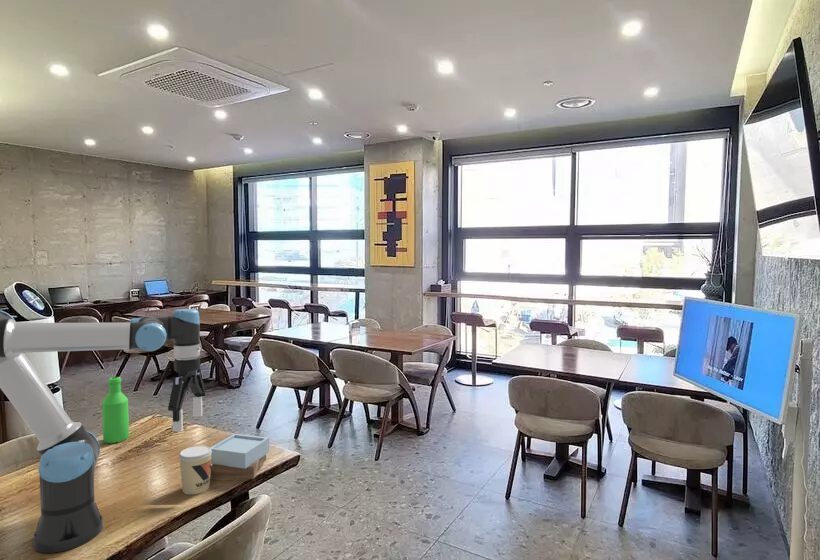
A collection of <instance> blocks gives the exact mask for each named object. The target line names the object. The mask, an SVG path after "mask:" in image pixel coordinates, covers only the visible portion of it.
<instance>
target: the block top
mask: <svg viewBox="0 0 820 560" xmlns="http://www.w3.org/2000/svg"><path fill="white" fill-rule="evenodd" d="M210 448H211V450H212V454H211V465H213V464H216V465H223V466H230V467H237V468H244V469H246V468H247V467H249V466H250V465H251V464H253V463H254V462H256V461H257V460H258V459H260V458H261V457H263V456H264V455H266V456H267V454H268V453H270V437H266V436H257V435H249V434H242V433H233V434H231V435H230V436H228V437H227V438H225V439H223V440H221V441H218V442H217V443H216V444H214V445H212V446H210Z"/></svg>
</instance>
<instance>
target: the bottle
mask: <svg viewBox="0 0 820 560" xmlns="http://www.w3.org/2000/svg"><path fill="white" fill-rule="evenodd" d="M121 382H122V378H121V377H120V376H113V377H110V378H108V381H107V384H108V390H109V391H108V393H107V395H106V397H105V398H104V400H103V401H102V403H101V406H102V407H101V409H102V411H101V412H102V414H101V415H102V416H101V417H102V441H103V442H104V443H105V444H117V443H116V442H118V443H120V441H121V442H123V440H124V441H125V439H126V440H127V439H128V438H130V424H129V423H130V422H129V420H130V419H129V398H128V397H127V396H126V395H125V394H124V393H123V392H122V390H121V389H122V388H121V387H122V385H121Z"/></svg>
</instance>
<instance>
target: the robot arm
mask: <svg viewBox="0 0 820 560" xmlns="http://www.w3.org/2000/svg"><path fill="white" fill-rule="evenodd" d="M172 313H173V314H172V315H170V316H155V317H154V316H153V317H150V316H149V317H143V316H141V317H136V318H131V319H130V320H129V321H128V322H126V321H125V322H17V321H16V320H15V318H14V317H13V316H11V315H10V314H9V313H8V312H6V311H3V310H1V309H0V390H1V391H2V392H3V394H4V395H5V396H6V398H7V399H8V400H9V402H10V403H11V405H12V406H13V407H14V409H15V410H16V411H17V412H18V414H19V416H20V417H21V419H22V420H23V421H24V422H25V423H26V425H27V426H28V428H29V429H30V431H31V432H32V433H33V434H34V436H35V438H37V440H38V444H37V446H36V447H37V448H36V451H38V453H39V455H40V459H39V464H38V474H39V495H40V496H39V497H40V516H39V519H38V523H37V527H36V529H35V530H36V531H35V532H34V534H33V538H32V542H33V543H32V545H33V549H34V550H35V551H37V552H39V553H44V554H45V553H46V554H48V553H49V554H52V553H60V552H64V551H69V550H72V549H75V548H78V547H80V546H82V545H84V544H87V543H88V542H90V541H92V540H94V538H96V537H97V536H98V535H99V534H100V533H101V531H102V530H103V528H104V522H103V521H104V519H103V516H102V515H101V513H100V510H99V507H98V506H97V503H96V500H95V470H96V466H97V463H98V459H99V456H100V453H101V451H100V450H101V447H100V442H99V440H98V438H97V436H95V435H94V434H93V433H92V432H91V431H88V430H87V429H86V428H85V426H84V425H83V424H82V423H81V422H79V421H78V422H77V421H73V420H72V419H71V418H70V416H69V415H68V413H67V411H65V409H64V407H63V406H62V405H61V404H60V401H59V400H58V399H57V398H56V396H55V395H54V393H53V392H52V391H51V389H50V388H49V386H48V385H47V384H46V382H45V381H44V379H43V377H42V376H41V375H40V373H39V372H38V371H37V369H36V368H35V366H34V365H33V364H32V362H31V361H30V359H29V358H28V356H27V355H26V354H25V353H51V352H52V353H53V352H55V353H56V352H81V351H82V352H84V351H114V350H117V351H118V350H143V351H146V352H155V351H157V350H158V349H159V350H160V348H161V347H162V346H163V345H165V342H166V341H167V342H169V341H173V357H174V358H175V359H174V360H173V369H174V371H175V372H176V373H178V377H173V378H172V389H171V393H170V397H169V401H168V407H167V410H168V412H169V411H170V412H172V432H184V426H183V423H184V421H183V418H184V417H183V413H184V412H183V409H182V407H183V403H184V401H185V396H186V394H187V392H188V391H189V389H191V392H192V394H193V397H192V408H193V409H192V410H193V411H192V416H193V417H198V418H199V417H200V418H202V417H203V397H205V396H206V387H205V383H204V380H203V376H202V370H201V369H202V368H201V358H200V355H201V350H202V347H200V346H201V341H200V340H201V339H200V337H201V336H200V335H201V327H200V325H201V323H200V322H201V321H200V312H199V311H198V310H197V309H195V308H179V309H175V310H173V311H172Z"/></svg>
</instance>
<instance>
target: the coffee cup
mask: <svg viewBox="0 0 820 560" xmlns="http://www.w3.org/2000/svg"><path fill="white" fill-rule="evenodd" d="M210 447H211V446H210ZM210 447H209V446H208V445H195V446H193V445H192V446H190V447H187V448H184V449H182V450H181V451H180V453H179V455H178V458H179V466H180V475H181V476H180V477H181V488H182V492H183V493H184V495H185V494H186V495H197V494H202V493H205V492H206V491H207V490H209V488H210V485H211V466H212V464H211V454H212V450H211V448H210Z"/></svg>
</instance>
